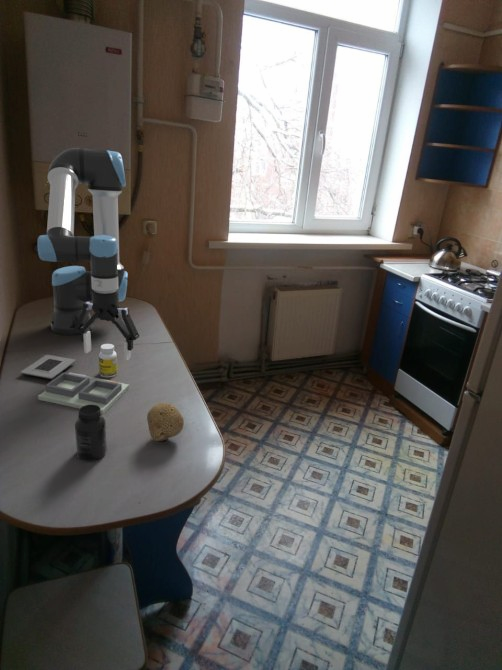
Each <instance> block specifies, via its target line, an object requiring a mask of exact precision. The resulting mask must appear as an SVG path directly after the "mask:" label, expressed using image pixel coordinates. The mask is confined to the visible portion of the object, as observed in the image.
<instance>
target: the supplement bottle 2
mask: <svg viewBox="0 0 502 670" xmlns="http://www.w3.org/2000/svg"><path fill="white" fill-rule="evenodd" d="M98 368H99V369H98V371H99V375H100V377H103V378H113V377H115V376H117V374H118V357H117V352H116V351H115V345H114V344H112V343H103V344H101V345H100V352H99V353H98Z"/></svg>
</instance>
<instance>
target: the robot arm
mask: <svg viewBox="0 0 502 670" xmlns="http://www.w3.org/2000/svg"><path fill="white" fill-rule="evenodd" d="M47 182H48V183H49V185H50V186H49V201H48V213H47V227H46V234H42V235H41V234H40V235H39V236H38V238H37V253H38V257H39V259H40V260H41V261H44V262H45V261H46V262H54V263H56V262H71V263H72V262H78V263H79V262H80V263H89V264H90V271H89V270H86V268H85V266H81V265H80V266H79V265H69V266H64V267H61V268H57V269H55V270H54V271H53V272H52V274H51V286H52V294H53V295H52V296H53V297H52V298H53V306H54V307H53V314H52V316H51V320H50V328H51V331H53V332H54V333H55V334H58V335H68V336H71V335H81V336H80V338H81V342H82V343H83V351H84V352H83V353H84V354H88V353H90V352H91V351H92V338H91V336H92V335H91V330H92V329H93V328H94V324H95V322H96V321H97V320H98V319H99V320H100V321H107V322H110V321H111V323H112V324H113V325H115V327H116V329H118V331H119V332H120V333H121V334H122V336H123V337H124V339H125V340H123V344H124V345H123V347H124V348H123V350H124V356H123V357H124V361H126V362H127V361H128V360H129V361H130V359H131V358H132V350H133V349H134V341H136V340H137V339H138V338H139V339H140V334H139V332H138V330H137V328H136V325H135V324H134V321H133V319H132V317H131V314H130V309H129V307H127V306H126V307H125V308H124V307H123V308H120V305H119V302H123V301H124V300H125V299H126V295H127V289H128V288H127V287H128V277H129V276H128V275H129V274H128V273H129V272H127V271H126V270H124V269H125V268H124V265H122V264H121V262H120V236H119V235H120V232H119V229H120V228H119V201H118V200H119V195H121V194H122V192H123V188H124V187H125V188H126V186H127V183H126V175H125V168H124V161H123V157H122V155H121V153H120V152H119V151H113V150H108V149H107V150H106V149H105V150H104V149H93V148H92V149H90V148H80V147H73V148H68V149H65V150H64V151H62V152H60V153H59V154H57V155H56V156H55V158H54V159H53V160H52V161H51V163H50V165H49V168H48V171H47ZM79 184H81V185H87V191H88V192H89V193H91V195H92V209H93V210H92V212H93V213H92V215H93V233H94V235H93V236H78V235H77V236H74V235H75V234H74V233H75V204H76V203H75V201H76V189H77V187H78V186H79ZM91 310H92V311H93V312H94V314H92V316H91V314H90V311H91Z"/></svg>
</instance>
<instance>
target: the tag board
mask: <svg viewBox="0 0 502 670" xmlns="http://www.w3.org/2000/svg"><path fill="white" fill-rule="evenodd" d="M129 389H130V384H128V383H124V382H119V381H115V380H111V379H109V380H108V379H104V378H98V377H94V376H88V375H87V374H81V373H74V372H65V371H64V372H63V371H62V372H61V373H60V374H58V375H57V376H56V377H54V378H53V379H51V381H49V382H48V383H47V384H45V390H44V391H42V392H41V393H40V394H38V395H37V400H39V401H44V402H47V403H52V404H53V403H54V404H57V405H62V406H66V407H70V408H73V409H74V408H75V409H78V410H79V409H80V408H81V407H83V406H85V405H97V406H99V407H100V409H101V415H102V414H103V415H104V414H105V413H106V412H107V411H108V410H109V409H110V408H111V407H112V406H113V405H114V404H115V403H116V402H117V401H118V400H119V399H120V398H121V397H122V396H123V395H124V394H125V393H126V392H127V391H128V390H129Z"/></svg>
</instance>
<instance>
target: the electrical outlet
mask: <svg viewBox="0 0 502 670" xmlns="http://www.w3.org/2000/svg"><path fill="white" fill-rule="evenodd" d="M76 361H77V359H73V358H69V357H68V358H67V357H62V356H56V355H51V354H45V355H43V356H42V357H41V358H39V359H37V360H36V361H35V362H33V363H31V364H30V365H28V366H27V367H25V368H24V369H22V370H21V371H20V372H19V374H22V375H26V376H31V377H37V378H42V379H48V380H53V379H55V378H56V377H58V376H59V375H60V374H62V373H63V371H64V372H65V370H66V369H67V368H69V367H70V366H72V365H73V364H74V363H75V362H76Z"/></svg>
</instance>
